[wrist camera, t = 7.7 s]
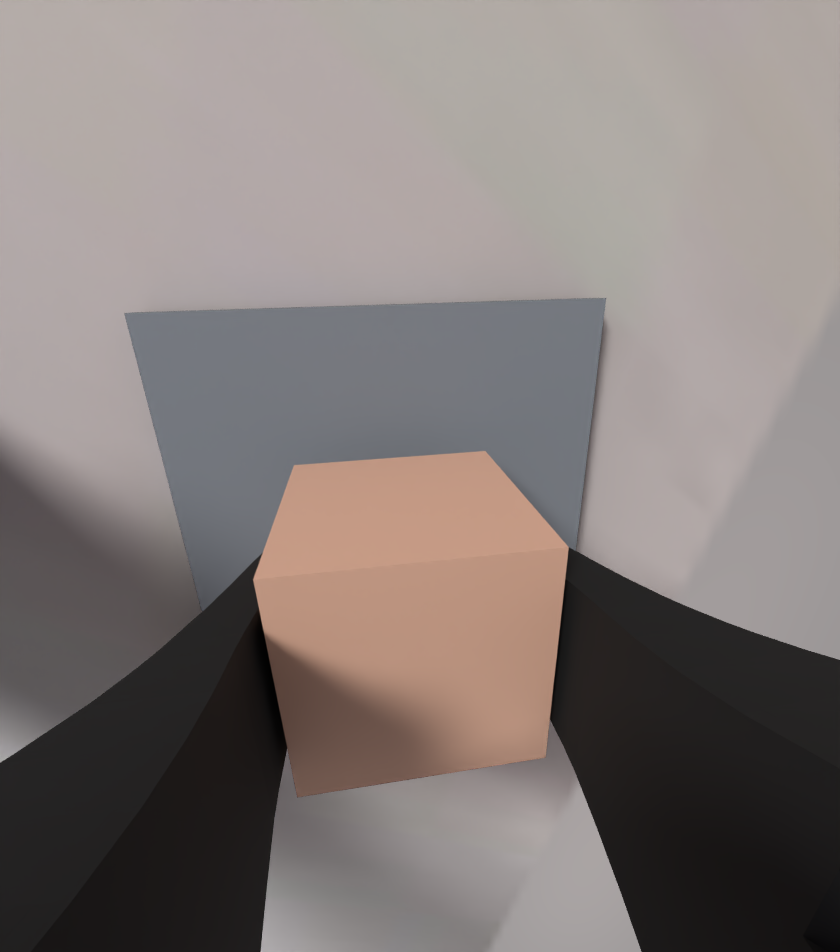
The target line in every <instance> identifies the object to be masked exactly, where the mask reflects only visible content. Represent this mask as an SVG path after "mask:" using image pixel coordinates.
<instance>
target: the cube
mask: <svg viewBox="0 0 840 952" xmlns="http://www.w3.org/2000/svg"><path fill="white" fill-rule="evenodd" d="M568 550H569V547H568V546H567V545H566V543H565V542H564V541H563V540H562V539H561V538H560V537H559V535H558V534H557V533H556V532H555V531H554V530H553V528H552V527H551V526H550V525H549V524H548V523H547V522H546V520H545V519H544V518H543V517H542V516H541V515H540V513H539V512H538V511H537V510H536V509H535V508H534V507H533V505H532V504H531V503H530V502H529V501H528V500H527V498H526V497H525V496H524V495H523V494H522V493H521V492H520V490H519V489H518V488H517V487H516V486H515V485H514V483H513V482H512V481H511V480H510V479H509V478H508V477H507V475H506V474H505V473H504V472H503V471H502V470H501V468H500V467H499V466H498V465H497V464H496V463H495V462H494V460H493V459H492V458H491V457H490V456H489V455H488V453H487V452H486V451H478V452H465V453H451V454H438V455H424V456H411V457H397V458H384V459H371V460H357V461H344V462H330V463H317V464H303V465H294V466H293V469H292V472H291V475H290V478H289V480H288V483H287V486H286V489H285V492H284V495H283V497H282V500H281V503H280V506H279V509H278V511H277V514H276V517H275V520H274V523H273V525H272V528H271V531H270V534H269V537H268V539H267V542H266V545H265V548H264V551H263V554H262V556H261V559H260V562H259V565H258V568H257V570H256V573H255V576H254V579H253V581H254V586H255V591H256V596H257V601H258V606H259V611H260V616H261V621H262V626H263V630H264V635H265V640H266V645H267V650H268V655H269V660H270V665H271V670H272V675H273V680H274V685H275V690H276V695H277V700H278V705H279V709H280V714H281V719H282V724H283V729H284V734H285V739H286V744H287V749H288V754H289V759H290V764H291V769H292V774H293V779H294V784H295V788H296V793H297V797H303V796H309V795H315V794H321V793H328V792H334V791H340V790H346V789H353V788H359V787H365V786H371V785H378V784H384V783H390V782H396V781H403V780H409V779H415V778H421V777H428V776H434V775H440V774H446V773H453V772H459V771H465V770H471V769H478V768H484V767H490V766H496V765H503V764H509V763H515V762H521V761H528V760H534V759H540V758H545V757H546V748H547V739H548V730H549V721H550V712H551V703H552V694H553V685H554V676H555V667H556V658H557V649H558V640H559V631H560V622H561V613H562V604H563V595H564V586H565V577H566V568H567V559H568Z"/></svg>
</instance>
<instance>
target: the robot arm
mask: <svg viewBox="0 0 840 952" xmlns="http://www.w3.org/2000/svg"><path fill="white" fill-rule="evenodd" d="M262 554H263V553H262ZM262 554H261V555H260V556H259V557H257V558H256V559H255V560H254V561H253V562H252V563H251V564H250V565H249V566H248V567H247V568H246V569H245V570H244V571H243V572H242V573H241V574H240V575H239V576H238V577H237V579H236V580H235V581H234V582H233V583H232V584H231V585H230V586H229V587H227V588H226V589H225V590H224V591H223V592H222V593H221V594H220V595H219V596H218V597H217V598H216V599H215V600H214V601H213V602H212V603H211V604H210V605H209V606H208V607H207V608H206V609H205V610H204V611H203V612H202V613H201V614H199V615H198V616H197V617H196V618H195V619H194V620H193V621H192V622H190V623H189V624H188V625H187V626H186V627H185V628H184V629H183V630H181V631H180V632H179V633H178V634H177V635H176V636H175V637H173V638H172V639H171V640H170V641H169V642H168V643H167V644H166V645H164V646H163V647H162V648H161V649H160V650H159V651H158V652H156V653H155V654H154V655H153V656H151V657H150V658H149V659H148V660H147V661H145V662H144V663H143V664H141V665H140V666H139V667H138V668H136V669H135V670H134V671H133V672H131V673H130V674H129V675H127V676H126V677H125V678H123V679H122V680H121V681H119V682H118V683H117V684H115V685H114V686H113V687H111V688H110V689H109V690H107V691H106V692H105V693H103V694H102V695H101V696H99V697H98V698H97V699H95V700H94V701H92V702H91V703H90V704H88V705H87V706H85V707H84V708H82V709H81V710H79V711H78V712H76V713H75V714H73V715H72V716H70V717H69V718H67V719H66V720H64V721H63V722H61V723H60V724H58V725H57V726H55V727H54V728H52V729H51V730H49V731H48V732H46V733H45V734H43V735H42V736H40V737H39V738H37V739H36V740H34V741H33V742H31V743H30V744H28V745H27V746H26V747H24V748H23V749H21V750H20V751H18V752H17V753H15V754H14V755H12V756H10V757H9V758H7V759H6V760H4V761H2V762H1V763H0V952H260V951H261V941H262V930H263V920H264V910H265V899H266V889H267V880H268V871H269V861H270V852H271V843H272V834H273V825H274V817H275V811H276V804H277V798H278V792H279V787H280V781H281V776H282V771H283V766H284V761H285V756H286V751H287V744H286V739H285V734H284V729H283V724H282V719H281V714H280V709H279V705H278V700H277V695H276V690H275V685H274V680H273V675H272V670H271V665H270V660H269V655H268V650H267V645H266V640H265V635H264V630H263V626H262V621H261V616H260V611H259V606H258V601H257V596H256V591H255V586H254V581H253V579H254V576H255V573H256V570H257V568H258V565H259V562H260V559H261V556H262ZM550 720H551V722H552V724H553V726H554V728H555V730H556V732H557V734H558V736H559V738H560V740H561V742H562V744H563V746H564V748H565V750H566V753H567V755H568V757H569V759H570V761H571V764H572V766H573V768H574V770H575V773H576V775H577V778H578V780H579V783H580V785H581V788H582V791H583V793H584V796H585V798H586V801H587V803H588V806H589V809H590V811H591V814H592V816H593V819H594V821H595V824H596V826H597V829H598V832H599V835H600V837H601V840H602V843H603V845H604V848H605V851H606V854H607V856H608V859H609V862H610V864H611V867H612V870H613V872H614V875H615V878H616V881H617V883H618V886H619V888H620V891H621V894H622V897H623V900H624V903H625V906H626V908H627V911H628V914H629V917H630V920H631V923H632V926H633V928H634V931H635V934H636V937H637V940H638V943H639V946H640V949H641V951H642V952H840V660H838V659H835V658H831V657H828V656H825V655H821V654H818V653H815V652H811V651H808V650H805V649H801V648H798V647H796V646H793V645H790V644H787V643H783V642H780V641H778V640H775V639H771V638H769V637H766V636H763V635H760V634H757V633H754V632H751V631H748V630H745V629H743V628H740V627H737V626H734V625H732V624H729V623H726V622H724V621H721V620H719V619H716V618H714V617H712V616H709V615H707V614H704V613H701V612H699V611H696V610H694V609H692V608H689V607H687V606H684V605H682V604H680V603H678V602H675V601H673V600H671V599H668V598H666V597H664V596H662V595H660V594H658V593H656V592H654V591H652V590H649V589H647V588H645V587H643V586H641V585H639V584H637V583H635V582H633V581H631V580H629V579H627V578H625V577H623V576H621V575H619V574H617V573H615V572H613V571H612V570H610V569H608V568H606V567H604V566H602V565H600V564H598V563H597V562H595V561H593V560H591V559H589V558H588V557H586V556H584V555H582V554H580V553H579V552H577V551H575V550H573V549H571V548H570V547H569V550H568V559H567V568H566V577H565V586H564V595H563V604H562V613H561V622H560V631H559V640H558V649H557V658H556V667H555V676H554V685H553V694H552V703H551V712H550Z"/></svg>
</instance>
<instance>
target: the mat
mask: <svg viewBox="0 0 840 952" xmlns="http://www.w3.org/2000/svg"><path fill="white" fill-rule="evenodd" d="M605 303H606V298H583V299H551V300H519V301H487V302H455V303H423V304H391V305H359V306H327V307H295V308H263V309H231V310H199V311H167V312H136V313H124V314H125V318H126V322H127V325H128V329H129V333H130V337H131V341H132V345H133V349H134V352H135V356H136V360H137V364H138V368H139V372H140V375H141V379H142V383H143V387H144V391H145V395H146V399H147V402H148V406H149V410H150V414H151V418H152V422H153V426H154V429H155V433H156V437H157V441H158V445H159V449H160V452H161V456H162V460H163V464H164V468H165V472H166V476H167V479H168V483H169V487H170V491H171V495H172V499H173V503H174V506H175V510H176V514H177V518H178V522H179V526H180V529H181V533H182V537H183V541H184V545H185V549H186V553H187V556H188V560H189V564H190V568H191V572H192V576H193V580H194V583H195V587H196V591H197V595H198V599H199V603H200V606H201V610H202V612H203V611H204V610H205V609H206V608H207V607H208V606H209V605H210V604H211V603H212V602H213V601H214V600H215V599H216V598H217V597H218V596H219V595H220V594H221V593H222V592H223V591H224V590H225V589H226V588H227V587H229V586H230V585H231V584H232V583H233V582H234V581H235V580H236V579H237V577H238V576H239V575H240V574H241V573H242V572H243V571H244V570H245V569H246V568H247V567H248V566H249V565H250V564H251V563H252V562H253V561H254V560H255V559H256V558H257V557H259V556H260V555H261V554H262V553H263V551H264V548H265V545H266V542H267V539H268V537H269V534H270V531H271V528H272V525H273V523H274V520H275V517H276V514H277V511H278V509H279V506H280V503H281V500H282V497H283V495H284V492H285V489H286V486H287V483H288V480H289V478H290V475H291V472H292V469H293V466H294V465H303V464H317V463H330V462H344V461H357V460H371V459H384V458H397V457H411V456H424V455H438V454H451V453H465V452H478V451H486V452H487V453H488V455H489V456H490V457H491V458H492V459H493V460H494V462H495V463H496V464H497V465H498V466H499V467H500V468H501V470H502V471H503V472H504V473H505V474H506V475H507V477H508V478H509V479H510V480H511V481H512V482H513V483H514V485H515V486H516V487H517V488H518V489H519V490H520V492H521V493H522V494H523V495H524V496H525V497H526V498H527V500H528V501H529V502H530V503H531V504H532V505H533V507H534V508H535V509H536V510H537V511H538V512H539V513H540V515H541V516H542V517H543V518H544V519H545V520H546V522H547V523H548V524H549V525H550V526H551V527H552V528H553V530H554V531H555V532H556V533H557V534H558V535H559V537H560V538H561V539H562V540H563V541H564V542H565V543H566V545H567V546H568V547H570V548H571V549H573V550H575V551H576V544H577V535H578V527H579V519H580V510H581V502H582V494H583V486H584V477H585V469H586V461H587V452H588V444H589V436H590V427H591V419H592V411H593V402H594V394H595V386H596V378H597V369H598V361H599V353H600V344H601V336H602V328H603V319H604V311H605Z"/></svg>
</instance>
